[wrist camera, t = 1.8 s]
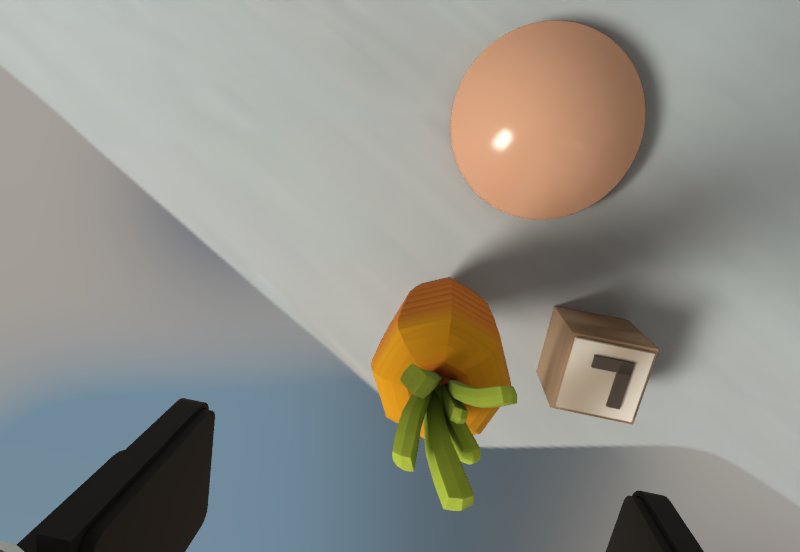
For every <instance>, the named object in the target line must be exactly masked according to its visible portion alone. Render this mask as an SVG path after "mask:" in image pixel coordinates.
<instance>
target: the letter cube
mask: <svg viewBox="0 0 800 552" xmlns="http://www.w3.org/2000/svg"><path fill="white" fill-rule="evenodd" d="M658 351H659V349H658V348H657V347H656V346H655V345H654V344H653V343H652V342H651V341H650V340H648V339H647V338H646V337H645V336H644V335H643V334H642V333H641V332H640V331H639V330H638V329H637V328H636V327H635V326H634V325H632V324H631V323H630V322H629V321H628V320H623V319H618V318H613V317H608V316H603V315H598V314H592V313H587V312H582V311H577V310H572V309H567V308H562V307H557V306H554V309H553V313H552V317H551V320H550V324H549V328H548V331H547V335H546V339H545V342H544V346H543V350H542V353H541V357H540V361H539V364H538V368H537V374H538V377H539V379H540V382H541V384H542V387H543V390H544V392H545V395H546V397H547V400H548V402H549V405H550V407H551V408H556V409H561V410H566V411H571V412H575V413H580V414H585V415H590V416H595V417H600V418H604V419H609V420H614V421H619V422H624V423H629V424H633V423H634V420H635V417H636V414H637V411H638V409H639V406H640V403H641V400H642V397H643V394H644V391H645V388H646V385H647V382H648V380H649V377H650V374H651V371H652V368H653V365H654V362H655V359H656V356H657V354H658Z"/></svg>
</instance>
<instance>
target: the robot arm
mask: <svg viewBox="0 0 800 552" xmlns="http://www.w3.org/2000/svg"><path fill="white" fill-rule="evenodd" d="M214 420H215V414H214V412H213V411H210V410H209V407H208V404H207V403H204V402H199V401H194V400H189V399H185V398H182V399H180V400H178V401H177V402H176V403H175V404H174V405H173V406H172V407H171V408H170V409H168V410H167V411H166V412H165V413H164V414H163V415H162V416H161V417H160V418H159V419H158V420H157V421H156V422H155V423H153V424H152V425H151V426H150V427H149V428H148V429H147V430H146V431H145V432H144V433H143V434H142V435H141V436H140V437H138V439H136V440H135V441H134V442H133V443H132V444H131V445H130V446H129V447H128V448H127V449H126V450H123V451H119V452H118V453H117V454H115V455H114V456H113V457H111V458H110V459H109V460H108V461H107V462H106V463H105V464H104V465H103V466H102V467H101V468H100V469H98V470H97V471H96V472H95V473H94V474H93V475H92V476H91V477H90V478H89V479H88V480H87V481H85V482H84V483H83V484H82V485H81V486H80V487H79V488H78V489H77V490H76V491H75V492H73V493H72V494H71V495H70V496H69V497H68V498H67V499H66V500H65V501H64V502H63V503H62V504H61V505H59V506H58V507H57V508H56V509H55V510H54V511H53V512H52V513H51V514H50V515H48V516H47V517H46V518H45V519H44V520H43V521H42V522H41V523H40V524H39V525H38V526H37V527H35V528H34V529H33V530H32V531H31V532H30V533H29V534H28V535H27V536H26V537H25V538H24V539H23V540H21V541H20V542H19V543H18V544H17V545H14V544H11V543H8V542H0V552H185V551H186V549H187V548H188V546H189V545H190V543H191V541H192V540H193V538H194V537H195V535H196V534H197V532H198V530H199V529H200V527H201V526H202V523H203V522H204V518H205V516H206V513H207V507H208V495H209V483H210V471H211V470H210V469H211V458H212V446H213V433H214ZM606 552H703V550H702V549H701V547H700V545H699V544H698V542H697V541H696V539H695V538H694V536H693V535H692V533H691V532H690V530H689V529H688V527H687V526H686V524H685V523H684V521H683V520H682V518H681V517H680V516H679V514H678V512H677V511H676V509H675V508H674V506H673V505H672V503H671V502H670V501H669V499H668V498H667V497H665V496H663V495H658V494H653V493H648V492H643V491H636V492H635V493H634V494H633V496H627V497H626V498H625V500H624V502H623V505H622V508H621V511H620V513H619V516H618V519H617V522H616V524H615V528H614V530H613V533H612V536H611V539H610V541H609V544H608V547H607V550H606Z"/></svg>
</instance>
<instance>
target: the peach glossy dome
mask: <svg viewBox="0 0 800 552" xmlns="http://www.w3.org/2000/svg"><path fill="white" fill-rule="evenodd" d="M645 117H646V111H645V98H644V92H643V87H642V84H641V81H640V78H639V75H638V73H637V71H636V69H635V67H634V65H633V63H632V62H631V60H630V59H629V57H628V56H627V54H626V53H625V52H624V51H623V50H622V49H621V48H620V47H619V46H618V44H616V43H615V42H614V41H613V40H611V39H610V38H609V37H608V36H606V35H604V34H603V33H601V32H599V31H598V30H596V29H593V28H591V27H588V26H586V25H583V24H579V23H575V22H569V21H558V20H557V21H543V22H537V23H532V24H529V25H526V26H523V27H520V28H517V29H515V30H513V31H511V32H509V33H507V34H505V35H504V36H502V37H501V38H499V39H498V40H496V41H495V42H493V43H492V44H491V45H490V46H489V47H488V48H486V49H485V50H484V51H483V52H482V53H481V54H480V55H479V57H478V58H477V59H476V60H475V61H474V62H473V64H472V65H471V67H470V68H469V69H468V71H467V72H466V74H465V76H464V78H463V80H462V82H461V84H460V86H459V89H458V91H457V94H456V96H455V100H454V104H453V108H452V115H451V142H452V148H453V152H454V156H455V159H456V162H457V164H458V167H459V169H460V171H461V173H462V174H463V176H464V178H465V180H466V181H467V182H468V184H469V185H470V186H471V188H472V189H473V190H474V191H475V192H476V193H477V194H478V195H479V196H480V197H481V198H482V199H483V200H485V201H486V202H487V203H489V204H490V205H492V206H493V207H495V208H497V209H499V210H500V211H503V212H505V213H508V214H510V215H513V216H517V217H521V218H528V219H553V218H560V217H563V216H567V215H571V214H574V213H576V212H579V211H581V210H583V209H585V208H587V207H589V206H591V205H593V204H594V203H596V202H597V201H599V200H600V199H601V198H603V197H604V196H605V195H606V194H608V193H609V192H610V191H611V190H612V189H613V188H614V187H615V186H616V185H617V184H618V183H619V181H620V180H621V179H622V178H623V177H624V175H625V174H626V172H627V171H628V169H629V168H630V166H631V164H632V162H633V160H634V158H635V157H636V155H637V152H638V149H639V147H640V144H641V141H642V136H643V132H644V127H645Z"/></svg>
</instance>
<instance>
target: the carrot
mask: <svg viewBox="0 0 800 552" xmlns="http://www.w3.org/2000/svg"><path fill="white" fill-rule="evenodd" d="M371 367H372V371H373V374H374V377H375V381H376V384H377V387H378V391H379V394H380V397H381V401H382V404H383V407H384V411H385V414H386V417H387V418H389V419H391V420H392V421H394V422H396V423H398V427H397V431H396V435H395V440H394V445H393V450H392V453H393V461H394V462H395V464H396V465H397V466H398V467H400V468H401V469H403V470H404V471H414V467H415V462H416V457H417V451H418V445H419V438H420V436H421V437H422V438H424V439H425V449H426V457H427V460H428V464H429V468H430V471H431V474H432V478H433V482H434V485H435V487H436V490H437V493H438V496H439V498H440V501H441V504H442V507H443V509H446V510H452V511H461V510H463V509H465V508H467V507H469V506H471V505H472V504H473V502H474V494H473V492H472V489H471V486H470V484H469V481H468V479H467V476H466V473H465V471H464V469H463V466H462V464H461V462H464V463H466V464H469V465H470V464H473V463H475V462H477V461H478V460H479V459H480V458H481V455H480V448H479V446H478V444H477V442H476V440H475V438H474V437H473V435H474V434H480V433H481V432H482V431H483V429H484V428H485V427H486V425H487V424H488V422H489V421H490V420H491V418H492V417H493V416H494V414H495V413H496V412H497V410H498V409H499V407H501V406H506V405H511V404H515V403H517V394H516V391H515V389H514V387H512V386H511V382H510V377H509V373H508V369H507V365H506V360H505V356H504V352H503V347H502V343H501V339H500V335H499V332H498V329H497V326H496V323H495V320H494V317H493V315H492V312H491V310H490V308H489V306H488V304H487V303H486V302H485V301H484V300H483V299H482V298H481V297H480V296H479V295H478V294H476V293H475V292H474V291H472V290H470V289H469V288H467V287H465V286H464V285H462V284H460V283H459V282H457V281H455V280H453V279H452V278H450V277H448V278H443V279H439V280H435V281H430V282H426V283H422V284H420V285H418V286H416V287H415V288H414V289H413V290H411V291H410V292H409V294H408V296H407V297H406V299H405V301H404V302H403V304H402V305H401V307H400V309H399V310H398V312H397V314H396V315H395V317H394V319H393V320H392V322H391V323H390V325H389V327H388V329H387V331H386V332H385V334H384V336H383V338H382V340H381V342H380V344H379V346H378V348H377V351H376V353H375V355H374V357H373V359H372V363H371Z"/></svg>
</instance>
